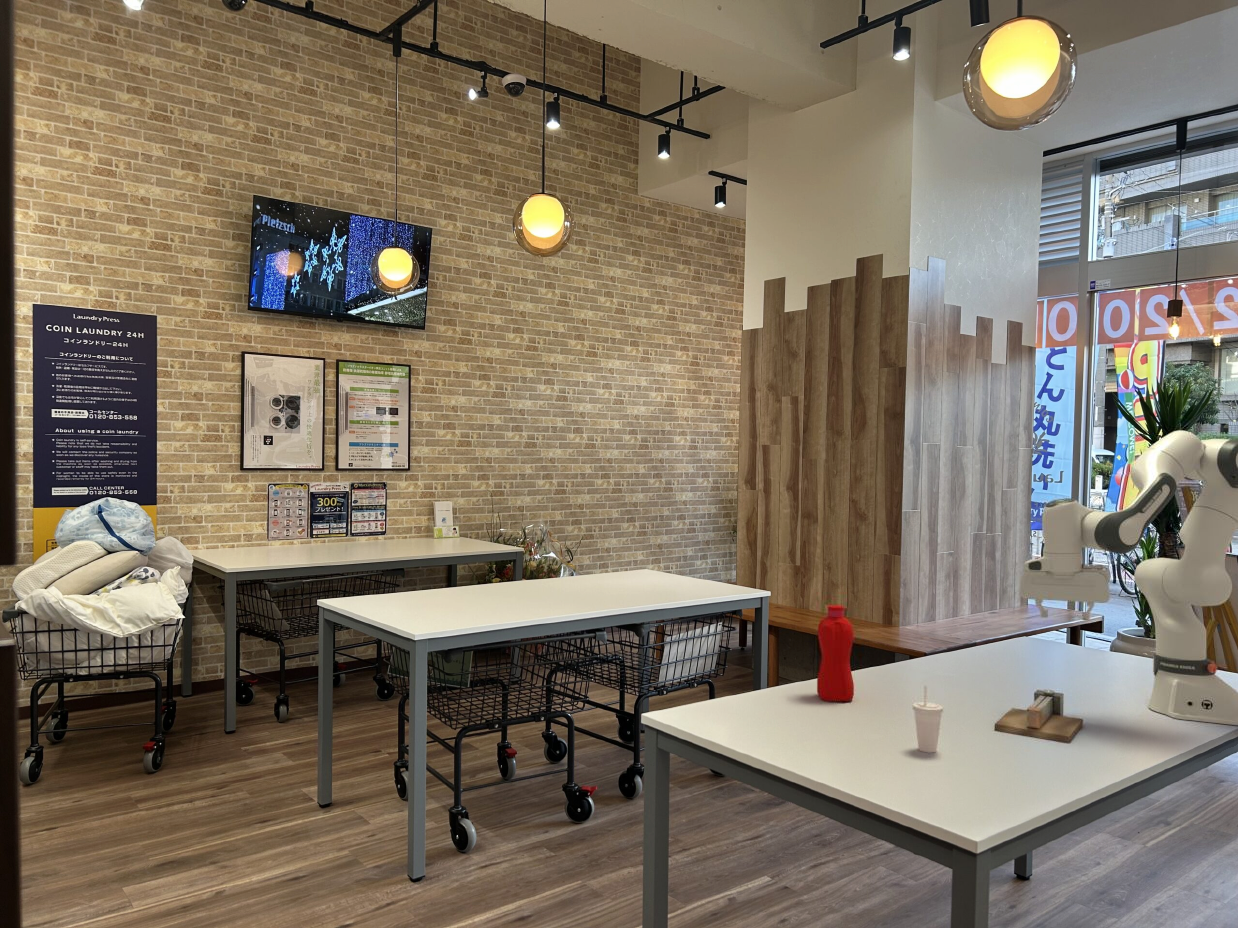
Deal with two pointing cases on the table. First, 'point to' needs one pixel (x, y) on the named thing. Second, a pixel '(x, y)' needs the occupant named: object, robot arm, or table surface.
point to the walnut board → (1050, 729)
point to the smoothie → (927, 723)
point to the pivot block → (1057, 700)
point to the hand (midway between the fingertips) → (1064, 618)
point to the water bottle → (835, 656)
